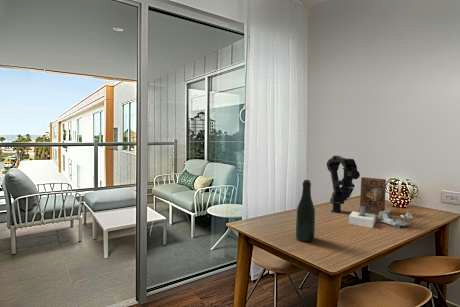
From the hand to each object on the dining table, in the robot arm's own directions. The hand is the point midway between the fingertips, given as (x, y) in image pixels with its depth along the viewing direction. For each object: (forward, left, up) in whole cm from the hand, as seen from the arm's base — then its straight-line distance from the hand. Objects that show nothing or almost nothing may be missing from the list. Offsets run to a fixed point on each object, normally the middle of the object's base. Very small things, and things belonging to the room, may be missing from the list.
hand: (346, 199), depth 195 cm
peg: (+6, +11, -12) cm, 17 cm away
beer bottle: (+55, -11, -13) cm, 58 cm away
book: (-27, +13, -13) cm, 33 cm away
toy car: (-4, +29, -14) cm, 32 cm away
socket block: (+6, +11, -13) cm, 18 cm away
